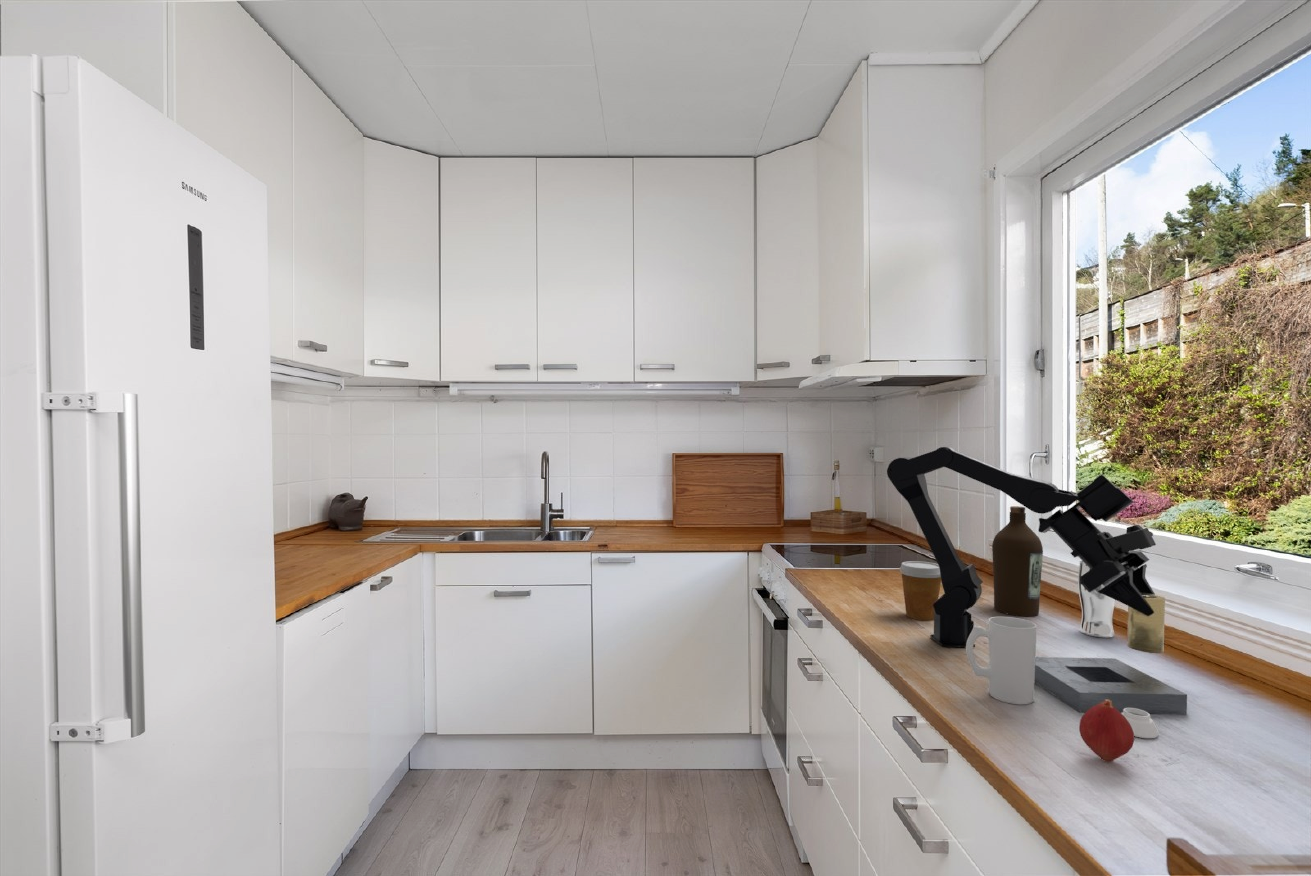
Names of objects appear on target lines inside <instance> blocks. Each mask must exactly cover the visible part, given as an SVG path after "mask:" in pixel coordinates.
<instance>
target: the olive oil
mask: <svg viewBox="0 0 1311 876" xmlns="http://www.w3.org/2000/svg"><path fill="white" fill-rule="evenodd" d="M1009 509H1010V511H1009V522H1008V523H1007V524H1006V525H1005V526H1004V527H1002V529H1000V530H999V531H998V532H997V533H996V535H994V538H993V540H992V544H991V545H992V546H991V549H992V568H993V570H992V571H993V575H992V576H993V606H994V607H993V608H995V609H996V610H995V609H994V610H995V611H997V612H999V613H1002V614H1005V613H1008V614H1007V615H1010V614H1012V615H1011V616H1016V615H1018V616H1017V617H1035V616H1034V615H1036V616H1038V615H1039V613H1040V600H1041V599H1040V598H1041V582H1042V568H1043V557H1044V556H1043V555H1044V549H1043V548H1044V547H1043V544H1042V541H1041V539H1040V537H1039V536H1038V535H1037V534H1036V533H1035V532H1034V531H1033V529H1032V528H1030V527H1029V525H1028V524H1027V523H1026V518H1027V517H1026V516H1027V515H1026V514H1027V513H1026V507H1025V506H1020V505H1019V506H1010V507H1009Z"/></svg>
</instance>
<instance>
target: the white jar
mask: <svg viewBox="0 0 1311 876" xmlns="http://www.w3.org/2000/svg"><path fill="white" fill-rule="evenodd" d="M1121 714H1122V715H1123V716H1124V717H1125V718H1126V719H1127V721H1128V722H1129V723H1130V725H1131V727H1132V729H1133V732H1134V736H1135V737H1134V738H1138V737H1139V738H1140V739H1155V738H1159V732H1160V731H1159V730H1158V728H1157V726H1156V723H1155V722H1154V720H1153V719H1152V717H1151V714H1149V713H1148V712H1146V711H1143V710H1140V709H1136V708H1124V709H1123V713H1121Z"/></svg>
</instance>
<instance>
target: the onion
mask: <svg viewBox="0 0 1311 876" xmlns="http://www.w3.org/2000/svg"><path fill="white" fill-rule="evenodd" d="M1078 729H1079V734H1080V737H1081V739H1082V741H1083V742H1084V744H1085V745H1086V746H1087V747H1088V748H1089V749H1090V750H1091V751H1092V752H1093V753H1094V754H1095V755H1096V756H1097V757H1099V759H1100V760H1102V761H1104V762H1107V763H1111V762H1113V761H1115V760H1116V759H1119V758H1120V757H1122V756H1124V755H1126V754H1128V753H1129V752H1130V751H1131V749H1132V748H1133V745H1134V742H1135V737H1134V732H1133V729H1132V727H1131V725H1130V723H1129V722H1128V721H1127V719H1126V718H1125V717H1124V716H1123V715H1122V714H1121V713H1120V712H1119V711H1118V710H1116V709H1115V708H1114V707H1113V706H1112V701H1110V700H1106V699H1105V700H1104V702H1103V703H1100V704H1098V705H1095V706H1093V707H1091V708H1090V709H1089V710H1088V711H1087V712H1084V713H1083V715H1082V716H1081V718H1080V721H1079V728H1078Z"/></svg>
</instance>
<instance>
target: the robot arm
mask: <svg viewBox="0 0 1311 876" xmlns="http://www.w3.org/2000/svg"><path fill="white" fill-rule="evenodd" d="M942 468H947V469H949V470H951V471H953V472H955V473H958V474H961V475H962V476H965V477H968V478H970V479H973V480H975V481H977V482H979V483H982V484H984V485H987V486H989V487H991V488H994V489H996V490H999V491H1000V492H1002V493H1004V494H1005V495H1007V496H1008V497H1010V498H1011V499H1013V500H1014V501H1016V502H1017V503H1019V504H1020V505H1022V507H1025V509H1026V508H1027V509H1029V511H1031V512H1033V513H1035V514H1047V513H1050V512H1052V511H1054V510H1055V509H1057V508H1060V507H1069V506H1071V505H1072V504H1074V503H1075V502H1077V501H1078V502H1077V503H1076V504H1074V505H1072V506H1071V507H1070V508H1067V510H1065V511H1064V510H1062V509H1058V510H1057V511H1055V512H1054V513H1052V514H1051V515H1050V516H1049V517H1047V518H1044V517H1040V518H1038V522H1039V525H1038V532H1039V533H1043V534H1046V533H1047V532H1049V531H1050V530H1052V531H1053V532H1054V533H1055V534H1056V536H1058V537H1059V538H1060V539H1061V540H1062V541H1063V542H1064V543H1065V545H1067V546H1068V547H1069V548H1070V550H1071V552H1070V554H1071V555H1072V557H1073V558H1077V557H1078V558H1079V559H1080V561H1083V562H1084V563H1085V564H1086V565H1087V566H1088V567H1089V568H1090V569H1091V570H1089V571H1088V572H1087V573H1085V574H1084V575H1082V576H1081V584H1082V585H1083V587H1084V588H1085V589H1086V590H1087V591H1088V592H1089V593H1090V592H1092V591H1094V590H1096V589H1097V587H1099V586H1100V585H1103V586H1104V588H1102V589H1101V590H1099V591H1098V592H1099V593H1100V594H1104V595H1106V596H1108V597H1110V598H1113V599H1115V601H1116V602H1119V603H1121V604H1124V605H1126V606H1127V607H1128V606H1129V607H1131V608H1133V609H1135V610H1137V611H1139V612H1141V613H1143V614H1145V615H1147V616H1150V615H1152V614H1153V613H1154V611H1153V609H1152V608H1151V606H1150V605H1149V604H1148V602H1147V601H1146V600H1145V598H1144V597H1143V596H1142V594H1141V593H1148V594H1154V595H1156V594H1155V592H1154V590H1153V588H1152V587H1151V585H1150V584H1149V581H1148V580H1147V578H1146V571H1147V567H1148V565H1147V562H1148V561H1150V558H1148V557H1147V555H1145V554H1144V553H1143V551H1139V550H1145V549H1148V548H1151V547H1154V546H1156V545H1157V544H1156V542H1155V540H1154V538H1153V536H1154V532H1152V531H1150V530H1149V528H1148V527H1142V526H1141V525H1140V524H1134V525H1131V526H1126V533H1123V534H1119V535H1116V536H1113V535H1112V534H1111V533H1110V532H1107V531H1101V530H1100V529H1099V528H1098V527H1097V526H1096V525H1095V524H1094V523H1092V521H1090V519H1089V518H1088V517H1087V516H1085V515H1084V514H1083V512H1081V511H1080V510H1079V509H1080V508H1081V509H1082V510H1083V511H1084V512H1085V514H1087V515H1088V516H1089V517H1090V518H1091V519H1092V520H1093V521H1096V522H1097V521H1100V520H1103V521H1104V522H1108V521H1109V520H1111V519H1112V518H1114V517H1115V516H1117V515H1118V514H1119V513H1121V512H1123V511H1124V510H1125V509H1126V508H1128V507H1129V506H1131V505H1132V504H1133V503H1134V501H1133V499H1131V498H1130V496H1129V495H1127V494H1126V492H1124V491H1123V489H1121V488H1120V487H1119V486H1116V485H1115V484H1114V483H1113V482H1112V481H1110V480H1109V479H1108V478H1107V477H1106V476H1105V475H1104V474H1099V475H1098V476H1097V477H1095V478H1094V479H1093V481H1092V482H1091V483H1089V484H1088V485H1086V486H1085V487H1083V488H1082V489H1081V490H1080V491H1078V492H1074V491H1072V490H1069V491H1068V490H1063V489H1059V488H1058V486H1057V485H1055V484H1054V483H1052V482H1050V481H1047V480H1041V479H1038V478H1034V477H1029V476H1023V475H1021V474H1020V475H1019V474H1015V473H1011V472H1009V471H1006V470H1004V469H1002V468H998V467H996V466H994V465H992V464H990V463H986V462H984V461H982V460H979V459H978V458H974V457H972V456H969V455H967V454H964V453H962V452H960V451H957V450H956V449H954V448H953V447H950V446H942V447H941V446H940V447H939V448H936V449H935V450H933V451H929V452H927V453H923V454H921V455H916V456H915V457H909V456H907V457H906V456H905V457H898V458H894V459H893V460H892V461H890V463H889V464H888V467H887V469H886V475H887V478H888V480H889V481H890V482H891V484H892V485H893V486H894V488H895V489H896V491H897V492H898V493H899V494H900V496H902V497H903V499H904V500H905V501H906V502H907V503H908V505H909V508H910V509H911V511H912V513H913V515H914V517H915V519H916V522H917V523H918V526H919V527H920V530H921V531H922V534H923V536H924V539H925V540H926V542H927V544H928V546H929V548H930V551H931V553H932V555H933V557H934V558H935V560H936V564H938V565H939V569H940V575H941V584H942V589H943V594H942V595H941V596H940V597H939V598H938V600H937V601H936V602H935V603H934V604H933V607H934V620H933V634H930V639H932V640H933V641H935V642H936V643H937V644H938V645H940V646H942V647H946V648H948V647H949V648H955V647H956V648H966V643H967V640H968V637H969V635H970V633H971V632H972V630H973V626H974V625H975V622H974V620H973V619H972V613H970V612H969V611H967V610H969V609H970V608H973V606H974V605H975V604H976V603H977V602H978V601H979V600H980V598H981V595H982V593H983V589H982V584H983V583H984V582H983V580H982V579H981V578H980V577H979V575H978V573H977V570H976V567H975V564H974V563H971V564H969V565H967V564H965V563H964V562H963V560H962V559H961V558H960V557H959V555H958V553H957V551H956V548H955V546H954V545H953V543H952V541H951V538H950V536H949V534H948V532H947V530H946V528H945V526H944V524H943V522H942V520H941V518H940V516H939V514H938V512H937V509H936V508H935V506H934V504H933V502H932V500H931V498H930V495H929V492H928V491H929V490H928V485H927V479H926V475H925V474H928V473H932V472H934V471H936V470H939V469H942ZM975 647H976V644H975V643H974V645H973V648H975Z"/></svg>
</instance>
